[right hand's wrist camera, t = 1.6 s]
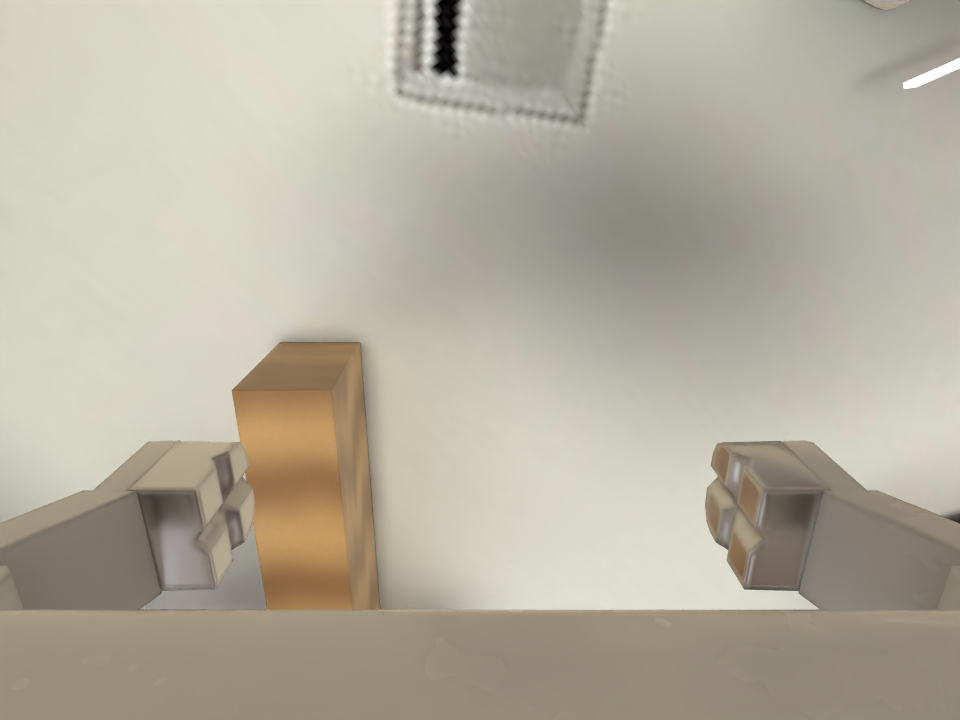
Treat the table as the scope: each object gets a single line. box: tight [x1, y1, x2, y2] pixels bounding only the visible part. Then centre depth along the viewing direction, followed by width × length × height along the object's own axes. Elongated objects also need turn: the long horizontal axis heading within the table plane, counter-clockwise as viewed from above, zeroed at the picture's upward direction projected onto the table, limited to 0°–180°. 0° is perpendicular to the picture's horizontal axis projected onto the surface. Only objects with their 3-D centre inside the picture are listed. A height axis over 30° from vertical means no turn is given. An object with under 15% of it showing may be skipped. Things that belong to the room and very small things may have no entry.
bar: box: [232, 343, 380, 610], centre depth 42 cm, size 28×6×8 cm, turn 0°
